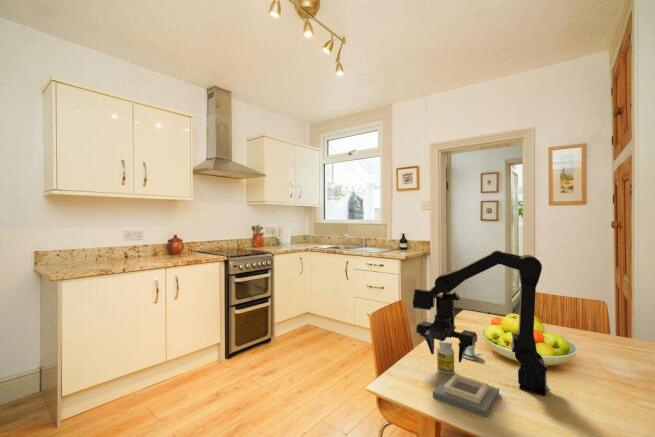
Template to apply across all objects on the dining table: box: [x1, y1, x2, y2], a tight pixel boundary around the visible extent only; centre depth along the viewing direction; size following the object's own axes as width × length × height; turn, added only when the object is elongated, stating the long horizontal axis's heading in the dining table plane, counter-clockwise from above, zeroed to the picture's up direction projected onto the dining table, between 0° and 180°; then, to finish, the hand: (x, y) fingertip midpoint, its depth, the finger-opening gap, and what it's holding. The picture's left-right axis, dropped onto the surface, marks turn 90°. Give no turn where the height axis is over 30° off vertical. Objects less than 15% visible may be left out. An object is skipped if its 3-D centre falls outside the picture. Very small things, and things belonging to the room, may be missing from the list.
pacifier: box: [463, 342, 482, 361], centre depth 114 cm, size 7×6×6 cm
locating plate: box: [432, 373, 500, 418], centre depth 88 cm, size 14×14×3 cm
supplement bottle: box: [436, 339, 455, 375], centre depth 103 cm, size 5×5×10 cm
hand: (445, 358), depth 103 cm, fingers open, 9 cm apart
